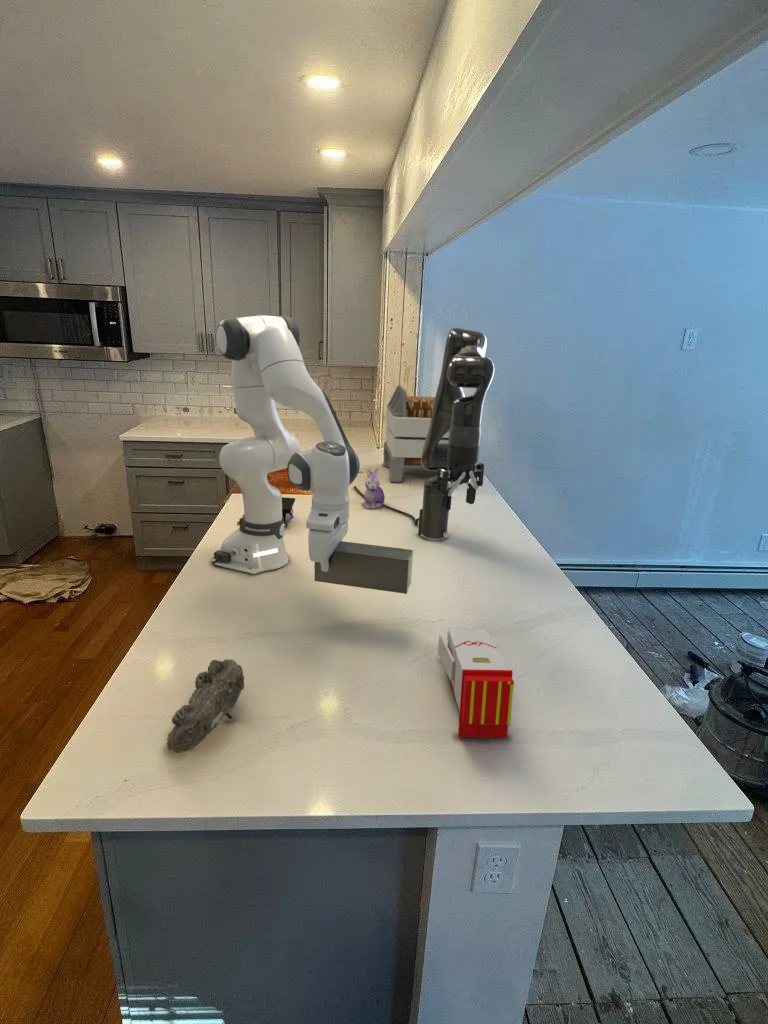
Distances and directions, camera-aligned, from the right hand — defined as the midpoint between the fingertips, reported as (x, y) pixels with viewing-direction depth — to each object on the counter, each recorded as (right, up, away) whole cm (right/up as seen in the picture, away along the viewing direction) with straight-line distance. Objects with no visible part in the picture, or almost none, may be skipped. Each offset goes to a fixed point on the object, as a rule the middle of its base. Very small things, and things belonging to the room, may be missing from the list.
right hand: (458, 506), depth 141 cm
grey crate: (-1, +17, +134) cm, 135 cm away
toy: (-1, -39, -23) cm, 45 cm away
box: (-24, -19, -2) cm, 30 cm away
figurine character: (-55, -5, +64) cm, 85 cm away
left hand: (-32, -14, -2) cm, 35 cm away
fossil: (-51, -41, -33) cm, 73 cm away
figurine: (-23, +1, +86) cm, 89 cm away
